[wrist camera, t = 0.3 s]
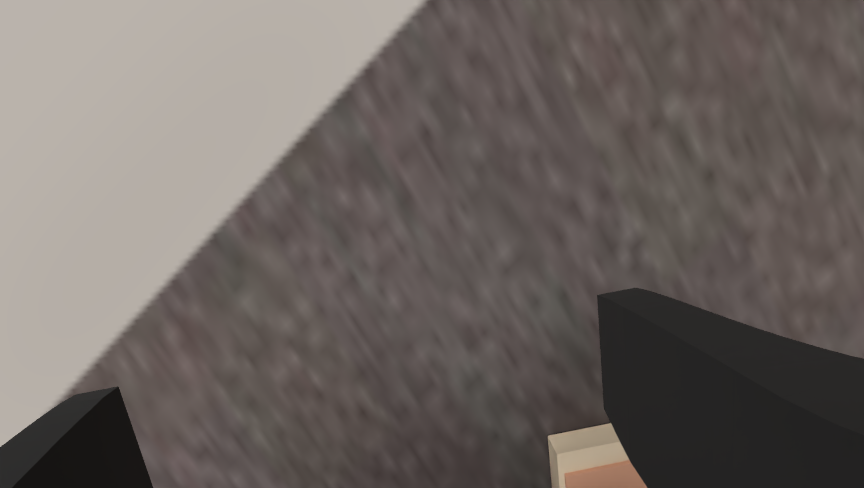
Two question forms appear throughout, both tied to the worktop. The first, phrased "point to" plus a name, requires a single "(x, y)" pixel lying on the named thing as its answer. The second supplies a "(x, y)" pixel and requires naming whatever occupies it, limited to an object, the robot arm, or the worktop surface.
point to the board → (591, 460)
